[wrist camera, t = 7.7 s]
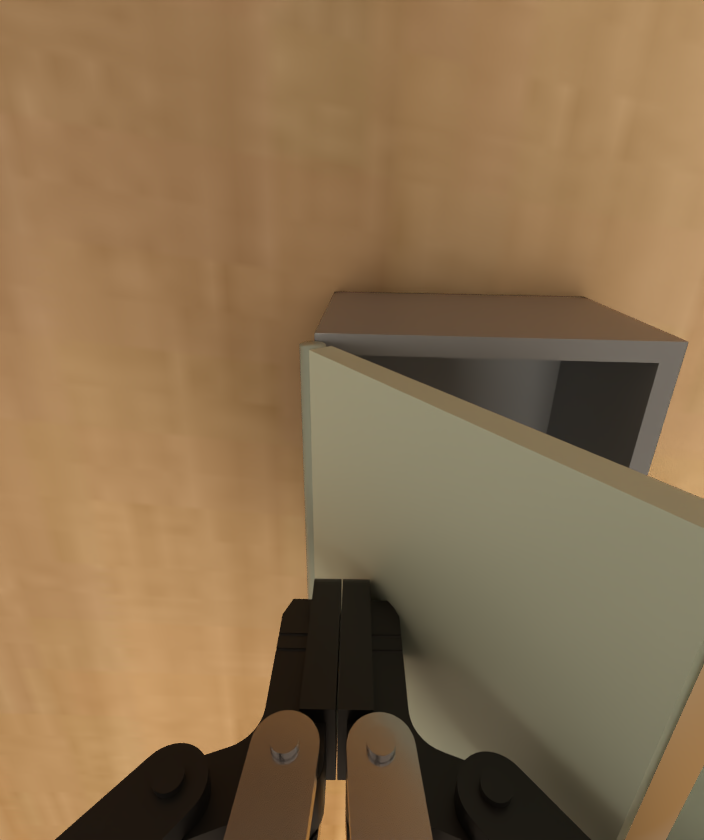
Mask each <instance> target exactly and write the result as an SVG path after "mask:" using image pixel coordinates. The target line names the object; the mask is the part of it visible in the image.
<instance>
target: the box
mask: <svg viewBox="0 0 704 840" xmlns="http://www.w3.org/2000/svg"><path fill="white" fill-rule="evenodd" d="M315 341H319V342H323V343H325V344H326V347H328V346H333V347H336V348H338V349H341V350H343V351H345V352H348V353H350V354H353V355H355V356H358V357H360V358H362V359H365V360H367V361H370V362H372V363H375V364H377V365H379V366H382V367H384V368H387V369H389V370H392V371H394V372H396V373H399V374H401V375H404V376H406V377H409V378H411V379H413V380H416V381H418V382H421V383H423V384H426V385H428V386H430V387H433V388H435V389H438V390H440V391H443V392H445V393H447V394H450V395H452V396H455V397H457V398H460V399H462V400H465V401H467V402H469V403H472V404H474V405H477V406H479V407H482V408H484V409H486V410H489V411H491V412H494V413H496V414H499V415H501V416H503V417H506V418H508V419H511V420H513V421H516V422H518V423H520V424H523V425H525V426H528V427H530V428H533V429H535V430H537V431H540V432H542V433H545V434H547V435H550V436H552V437H554V438H557V439H559V440H562V441H564V442H567V443H569V444H572V445H574V446H576V447H579V448H581V449H584V450H586V451H589V452H591V453H593V454H596V455H598V456H601V457H603V458H606V459H608V460H610V461H613V462H615V463H618V464H620V465H623V466H625V467H627V468H630V469H632V470H635V471H637V472H640V473H642V474H644V475H648V472H649V469H650V465H651V462H652V459H653V456H654V452H655V449H656V446H657V443H658V439H659V436H660V433H661V430H662V426H663V423H664V420H665V417H666V413H667V410H668V407H669V404H670V400H671V397H672V394H673V391H674V387H675V384H676V381H677V378H678V375H679V371H680V368H681V365H682V362H683V358H684V355H685V352H686V349H687V345H688V341H685V340H683V339H681V338H678V337H676V336H674V335H671V334H669V333H667V332H664V331H662V330H660V329H657V328H655V327H653V326H650V325H648V324H646V323H643V322H641V321H639V320H637V319H634V318H632V317H630V316H627V315H625V314H623V313H620V312H618V311H616V310H613V309H611V308H609V307H606V306H604V305H602V304H599V303H597V302H595V301H592V300H590V299H588V298H585V297H568V296H520V295H471V294H422V293H374V292H334V294H333V297H332V299H331V301H330V303H329V305H328V307H327V309H326V311H325V313H324V315H323V317H322V319H321V321H320V323H319V325H318V327H317V329H316V331H315Z"/></svg>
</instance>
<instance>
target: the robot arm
mask: <svg viewBox="0 0 704 840" xmlns="http://www.w3.org/2000/svg"><path fill="white" fill-rule="evenodd" d="M336 754H337V780H346V815H345V829H346V840H591V839H590V838H589V837H588V836H587V835H586V834H585V833H584V832H583V831H582V830H581V829H580V828H579V827H578V826H577V825H576V824H575V823H574V822H573V821H572V820H571V819H570V818H569V817H568V816H567V815H566V814H565V813H564V812H563V811H562V810H561V809H560V808H559V807H558V806H557V805H556V804H555V803H554V802H553V801H552V800H551V799H550V798H549V797H548V796H547V795H546V794H545V793H544V792H543V791H542V790H541V789H540V788H539V787H538V786H537V785H536V784H535V783H534V782H533V781H532V780H531V779H530V778H529V777H528V776H527V775H526V774H525V773H524V772H523V771H522V770H521V769H520V768H519V767H518V766H517V765H516V764H515V763H514V762H512V761H511V760H509V759H508V758H507V757H505V756H503V755H501V754H498V753H494V752H489V751H482V752H477V753H474V754H472V755H470V756H469V757H468V758H466V759H465V760H463V759H461V758H458V757H455V756H453V755H450V754H447V753H445V752H442V751H440V750H438V749H436V748H434V747H432V746H431V745H429V744H428V743H427V742H426V741H424V740H423V739H422V737H421V736H420V735H419V734H418V733H417V731H416V730H415V728H414V726H413V724H412V722H411V719H410V715H409V709H408V699H407V689H406V679H405V669H404V659H403V649H402V639H401V629H400V619H399V615H398V614H397V612H396V610H395V609H394V607H393V606H392V605H391V604H390V603H389V602H388V601H382V600H370V579H343V586H342V579H318V578H315V579H314V586H313V594H312V599H293V601H292V602H291V603H290V605H289V606H288V608H287V609H286V611H285V612H284V613H283V616H282V621H281V627H280V632H279V637H278V643H277V650H276V654H275V659H274V664H273V670H272V675H271V681H270V686H269V691H268V697H267V702H266V708H265V711H264V715H263V717H262V719H261V721H260V723H259V724H258V726H257V727H256V729H255V730H254V731H253V732H252V733H251V734H250V735H249V736H248V737H247V738H245V739H244V740H243V741H241V742H239V743H237V744H235V745H233V746H231V747H228V748H225V749H222V750H219V751H216V752H213V753H209V754H206V755H204V754H203V753H202V752H201V751H200V750H199V749H198V748H197V747H195V746H193V745H190V744H187V743H176V744H172V745H168V746H166V747H163V748H161V749H159V750H158V751H156V752H155V753H153V754H152V755H151V756H150V757H148V758H147V759H146V760H145V761H144V762H143V763H142V764H140V765H139V766H138V767H137V768H136V769H135V770H134V771H132V772H131V773H130V774H129V775H128V776H127V777H126V778H125V779H123V780H122V781H121V782H120V783H119V784H118V785H117V786H115V787H114V788H113V789H112V790H111V791H110V792H109V793H107V794H106V795H105V796H104V797H103V798H102V799H101V800H100V801H98V802H97V803H96V804H95V805H94V806H93V807H92V808H90V809H89V810H88V811H87V812H86V813H85V814H84V815H82V816H81V817H80V818H79V819H78V820H77V821H76V822H75V823H73V824H72V825H71V826H70V827H69V828H68V829H67V830H65V831H64V832H63V833H62V834H61V835H60V836H59V837H57V838H56V839H55V840H319V839H320V831H321V821H322V817H323V814H324V804H325V786H326V780H335V779H336Z"/></svg>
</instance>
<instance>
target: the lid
mask: <svg viewBox="0 0 704 840" xmlns="http://www.w3.org/2000/svg"><path fill="white" fill-rule="evenodd" d="M300 375H301V405H302V435H303V465H304V495H305V525H306V555H307V585H308V599H312V594H313V586H314V579H315V578H318V579H342V586H343V579H370V600H382V601H388V602H389V603H390V604H391V605H392V606H393V607H394V609H395V610H396V612H397V614H398V615H399V619H400V629H401V639H402V649H403V659H404V669H405V679H406V689H407V699H408V709H409V715H410V719H411V722H412V724H413V726H414V728H415V730H416V731H417V733H418V734H419V735H420V736H421V737H422V739H423V740H424V741H426V742H427V743H428V744H429V745H431V746H432V747H434V748H436V749H438V750H440V751H442V752H445V753H447V754H450V755H453V756H455V757H458V758H461V759H463V760H465V759H466V758H468V757H469V756H470V755H472V754H474V753H477V752H482V751H489V752H494V753H498V754H501V755H503V756H505V757H507V758H508V759H509V760H511V761H512V762H514V763H515V764H516V765H517V766H518V767H519V768H520V769H521V770H522V771H523V772H524V773H525V774H526V775H527V776H528V777H529V778H530V779H531V780H532V781H533V782H534V783H535V784H536V785H537V786H538V787H539V788H540V789H541V790H542V791H543V792H544V793H545V794H546V795H547V796H548V797H549V798H550V799H551V800H552V801H553V802H554V803H555V804H556V805H557V806H558V807H559V808H560V809H561V810H562V811H563V812H564V813H565V814H566V815H567V816H568V817H569V818H570V819H571V820H572V821H573V822H574V823H575V824H576V825H577V826H578V827H579V828H580V829H581V830H582V831H583V832H584V833H585V834H586V835H587V836H588V837H589V838H590V839H591V840H625V838H626V836H627V834H628V832H629V830H630V827H631V825H632V823H633V820H634V818H635V816H636V814H637V812H638V809H639V807H640V805H641V803H642V800H643V798H644V796H645V794H646V791H647V789H648V787H649V785H650V783H651V780H652V778H653V776H654V774H655V772H656V769H657V767H658V765H659V763H660V760H661V758H662V756H663V754H664V751H665V749H666V747H667V745H668V743H669V740H670V738H671V736H672V734H673V731H674V729H675V727H676V725H677V722H678V720H679V718H680V716H681V714H682V711H683V709H684V707H685V705H686V702H687V700H688V698H689V696H690V694H691V691H692V689H693V687H694V684H695V682H696V680H697V678H698V676H699V673H700V671H701V669H702V667H703V665H704V499H703V498H700V497H698V496H696V495H693V494H691V493H688V492H686V491H683V490H681V489H678V488H676V487H674V486H671V485H669V484H666V483H664V482H661V481H659V480H657V479H654V478H652V477H649V476H647V475H644V474H642V473H640V472H637V471H635V470H632V469H630V468H627V467H625V466H623V465H620V464H618V463H615V462H613V461H610V460H608V459H606V458H603V457H601V456H598V455H596V454H593V453H591V452H589V451H586V450H584V449H581V448H579V447H576V446H574V445H572V444H569V443H567V442H564V441H562V440H559V439H557V438H554V437H552V436H550V435H547V434H545V433H542V432H540V431H537V430H535V429H533V428H530V427H528V426H525V425H523V424H520V423H518V422H516V421H513V420H511V419H508V418H506V417H503V416H501V415H499V414H496V413H494V412H491V411H489V410H486V409H484V408H482V407H479V406H477V405H474V404H472V403H469V402H467V401H465V400H462V399H460V398H457V397H455V396H452V395H450V394H447V393H445V392H443V391H440V390H438V389H435V388H433V387H430V386H428V385H426V384H423V383H421V382H418V381H416V380H413V379H411V378H409V377H406V376H404V375H401V374H399V373H396V372H394V371H392V370H389V369H387V368H384V367H382V366H379V365H377V364H375V363H372V362H370V361H367V360H365V359H362V358H360V357H358V356H355V355H353V354H350V353H348V352H345V351H343V350H341V349H338V348H336V347H333V346H328V347H326V344H325V343H323V342H319V341H307V342H302V343H300ZM666 840H704V767H703V769H702V770H701V772H700V774H699V776H698V778H697V780H696V782H695V784H694V786H693V788H692V790H691V792H690V794H689V796H688V798H687V800H686V802H685V804H684V806H683V808H682V810H681V811H680V813H679V815H678V817H677V819H676V821H675V823H674V825H673V827H672V829H671V831H670V833H669V835H668V837H667V839H666Z"/></svg>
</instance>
